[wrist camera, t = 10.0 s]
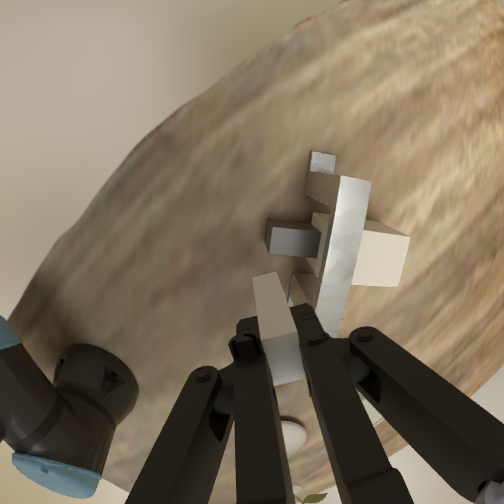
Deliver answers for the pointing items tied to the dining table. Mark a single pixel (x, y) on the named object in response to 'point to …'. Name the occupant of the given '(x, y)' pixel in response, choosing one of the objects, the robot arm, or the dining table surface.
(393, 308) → the dining table surface
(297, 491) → the flower in vase
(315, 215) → the plug
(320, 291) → the bar
